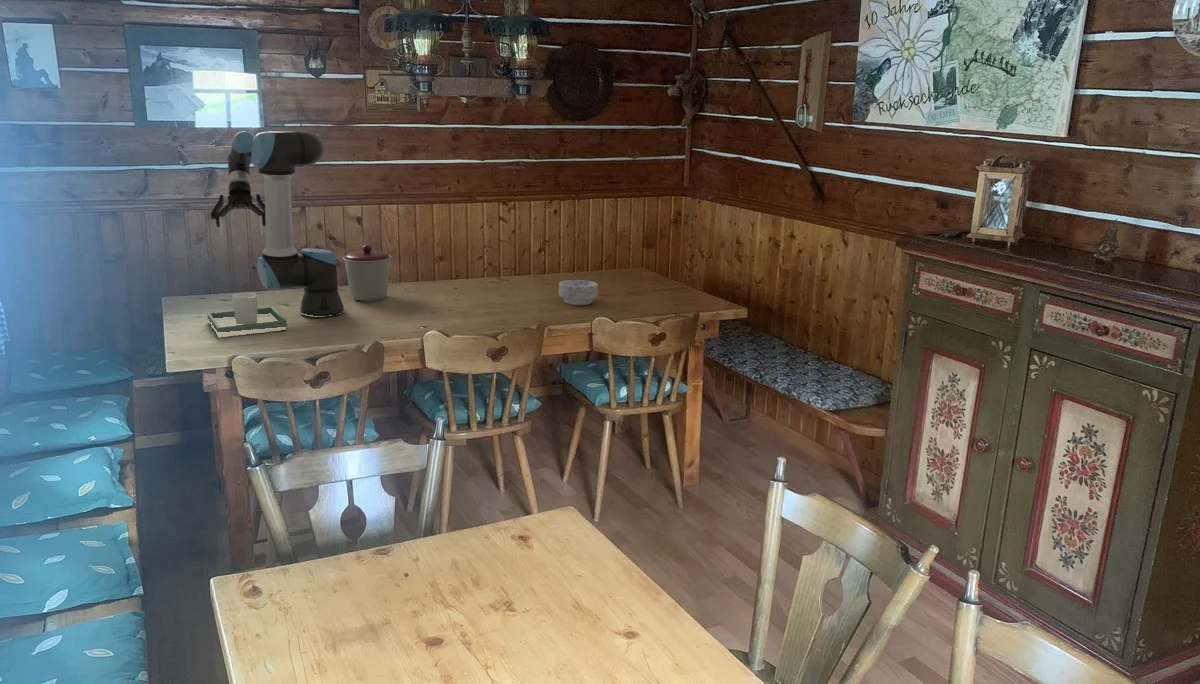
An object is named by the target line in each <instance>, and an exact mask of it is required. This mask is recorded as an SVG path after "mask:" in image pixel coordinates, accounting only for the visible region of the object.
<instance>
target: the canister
mask: <svg viewBox="0 0 1200 684" xmlns="http://www.w3.org/2000/svg"><path fill="white" fill-rule="evenodd" d="M372 249H373V248H372V246H371V245H369V244H364V245H363V246H362V247H361V250H357V251H351V252H349V253H346V255H344V256H342V260H344V264H345V270H346V277H347V281H348V288H349V292H350V295H351V298H353V299H354V300H356V301H358V300H360V301H359V302H376V301H375V300H378V301H381V300H384V299H385V298H386V296H387V295H388V289H389V280H390V279H389V278H390V264H391V263H390V261H391V259H392V255H390V254H389V253H387V252H385V251H382V250H372Z"/></svg>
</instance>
